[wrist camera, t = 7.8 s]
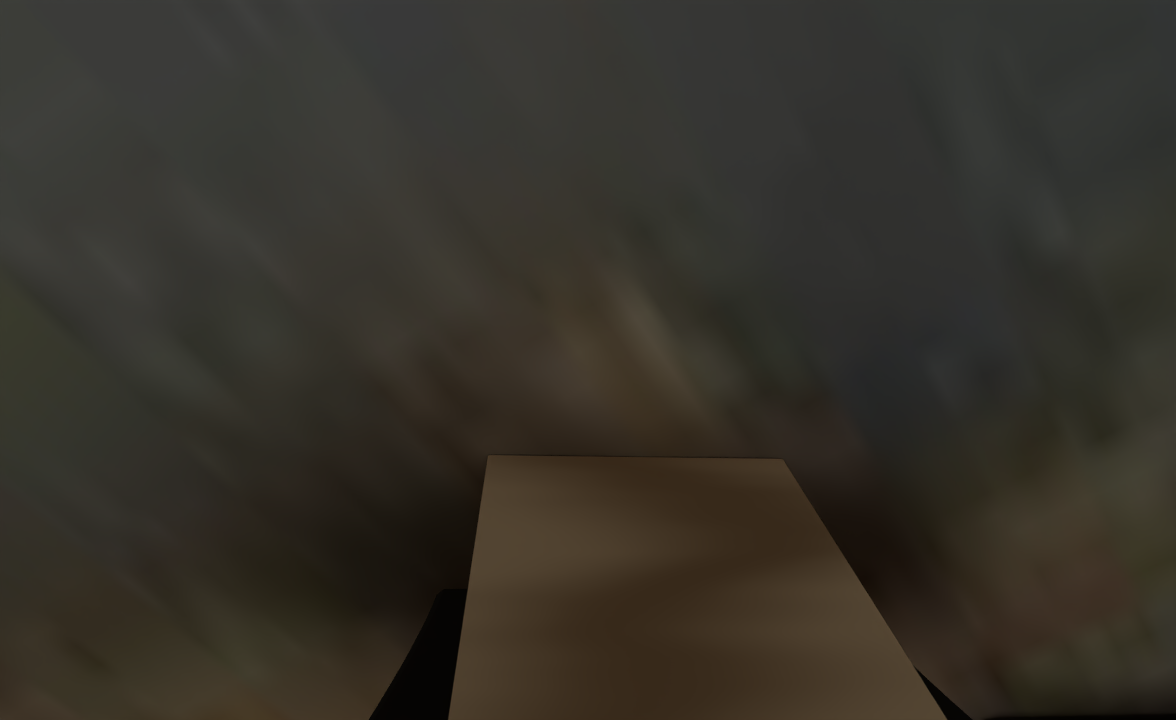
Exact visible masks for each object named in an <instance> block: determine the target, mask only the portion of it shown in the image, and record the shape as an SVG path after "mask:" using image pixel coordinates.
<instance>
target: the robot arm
mask: <svg viewBox="0 0 1176 720" xmlns="http://www.w3.org/2000/svg"><path fill="white" fill-rule="evenodd" d="M467 592H468V589H444V590H443V591H441V592H440V593H439V594H438V595H437V596H436V598H435V601H434V603H433V606H432V608H431V610H430V612H429V614H428V616H427V619H426V621H425V623H424V625H423V627H422V629H421V631H420V633H419V635H418V637H417V638H416V640H415V642H414V644H413V646H412V648H411V649H410V651H409V653H408V655H407V657H406V659H405V660H404V662H403V664H402V666H401V667H400V669H399V671H398V672H397V674H396V676H395V677H394V679H393V681H392V682H391V684H390V686H389V687H388V689H387V691H386V692H385V694H384V696H383V697H382V699H381V701H380V702H379V704H378V706H377V707H376V709H375V710H374V712H373V714H372V715H371V717H370V718H369V720H448V718H449V711H450V704H451V698H452V691H453V684H454V678H455V671H456V664H457V658H458V651H459V645H460V638H461V631H462V625H463V618H464V611H465V605H466V598H467ZM914 668H915V667H914ZM915 670H916V671H917V673H918V674H919V676H920V677H921V679H922V681H923V682H924V684H925V685H926V687H927V689H928V690H929V692H930V693H931V695H932V696H933V698H934V700H935V701H936V703H937V704H938V706H939V708H940V709H941V711H942V712H943V714H944V715H945V717H946V719H947V720H972V719H971V718H970V717H969V716H968V715H966V714H965V713H964V712H963V711H962V710H961V709H960V708H959V707H957V706H956V705H955V704H954V703H953V702H952V701H951V700H950V699H949V698H948V697H946V696H945V695H944V694H943V693H942V692H941V691H940V690H939V689H938V688H937V687H935V686H934V685H933V684H932V683H931V682H930V681H929V680H928V679H927V678H926V677H925V676H924V675H923V674H921V673H920V672H919V671H918V670H917V669H916V668H915Z"/></svg>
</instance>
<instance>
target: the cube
mask: <svg viewBox="0 0 1176 720" xmlns="http://www.w3.org/2000/svg"><path fill="white" fill-rule="evenodd" d="M448 720H947V719H946V717H945V715H944V714H943V712H942V711H941V709H940V708H939V706H938V704H937V703H936V701H935V700H934V698H933V696H932V695H931V693H930V692H929V690H928V689H927V687H926V685H925V684H924V682H923V681H922V679H921V677H920V676H919V674H918V673H917V671H916V670H915V668H914V666H913V665H912V663H911V662H910V660H909V658H908V657H907V655H906V654H905V652H904V651H903V649H902V647H901V646H900V644H899V643H898V641H897V639H896V638H895V636H894V635H893V633H892V632H891V630H890V628H889V627H888V625H887V624H886V622H885V620H884V619H883V617H882V616H881V614H880V612H879V611H878V609H877V608H876V606H875V605H874V603H873V601H872V600H871V598H870V597H869V595H868V593H867V592H866V590H865V589H864V587H863V586H862V584H861V582H860V581H859V579H858V578H857V576H856V574H855V573H854V571H853V570H852V568H851V567H850V565H849V563H848V562H847V560H846V559H845V557H844V555H843V554H842V552H841V551H840V549H839V548H838V546H837V544H836V543H835V541H834V540H833V538H832V536H831V535H830V533H829V532H828V530H827V529H826V527H825V525H824V524H823V522H822V521H821V519H820V517H819V516H818V514H817V513H816V511H815V510H814V508H813V506H812V505H811V503H810V502H809V500H808V498H807V497H806V495H805V494H804V492H803V491H802V489H801V487H800V486H799V484H798V483H797V481H796V479H795V478H794V476H793V475H792V473H791V471H790V470H789V468H788V467H787V465H786V464H785V462H784V460H783V459H756V458H676V457H596V456H515V455H488V459H487V466H486V472H485V479H484V485H483V492H482V499H481V505H480V512H479V519H478V525H477V532H476V539H475V545H474V552H473V558H472V565H471V572H470V578H469V585H468V592H467V598H466V605H465V611H464V618H463V625H462V631H461V638H460V645H459V651H458V658H457V664H456V671H455V678H454V684H453V691H452V698H451V704H450V711H449V718H448Z"/></svg>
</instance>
